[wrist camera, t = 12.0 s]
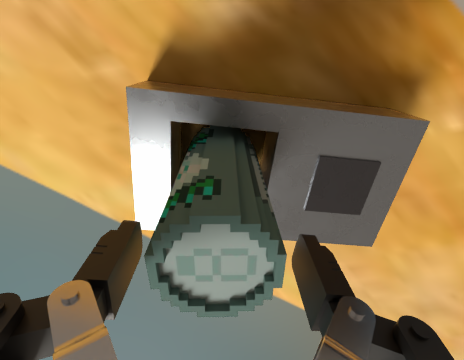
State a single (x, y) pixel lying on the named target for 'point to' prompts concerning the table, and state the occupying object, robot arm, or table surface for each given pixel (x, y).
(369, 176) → the block with square hole
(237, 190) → the can
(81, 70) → the table surface
